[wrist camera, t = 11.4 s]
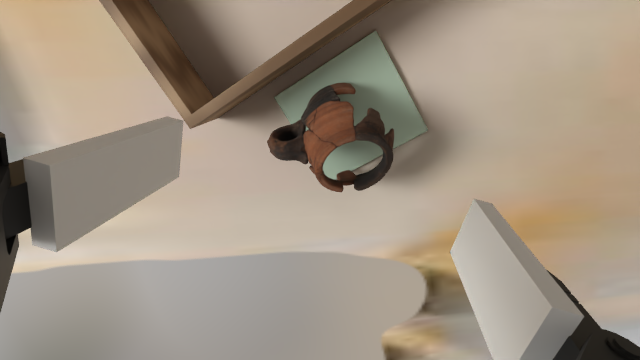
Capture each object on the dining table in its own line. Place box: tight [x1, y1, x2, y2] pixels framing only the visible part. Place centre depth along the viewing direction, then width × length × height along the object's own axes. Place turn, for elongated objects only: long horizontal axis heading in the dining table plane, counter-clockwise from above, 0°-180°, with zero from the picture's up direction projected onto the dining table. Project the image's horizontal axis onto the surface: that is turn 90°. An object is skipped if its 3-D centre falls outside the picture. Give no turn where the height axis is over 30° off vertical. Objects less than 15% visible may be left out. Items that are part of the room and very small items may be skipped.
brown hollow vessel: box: [267, 83, 394, 192], centre depth 33 cm, size 12×9×8 cm
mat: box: [274, 31, 428, 180], centre depth 35 cm, size 11×12×1 cm
